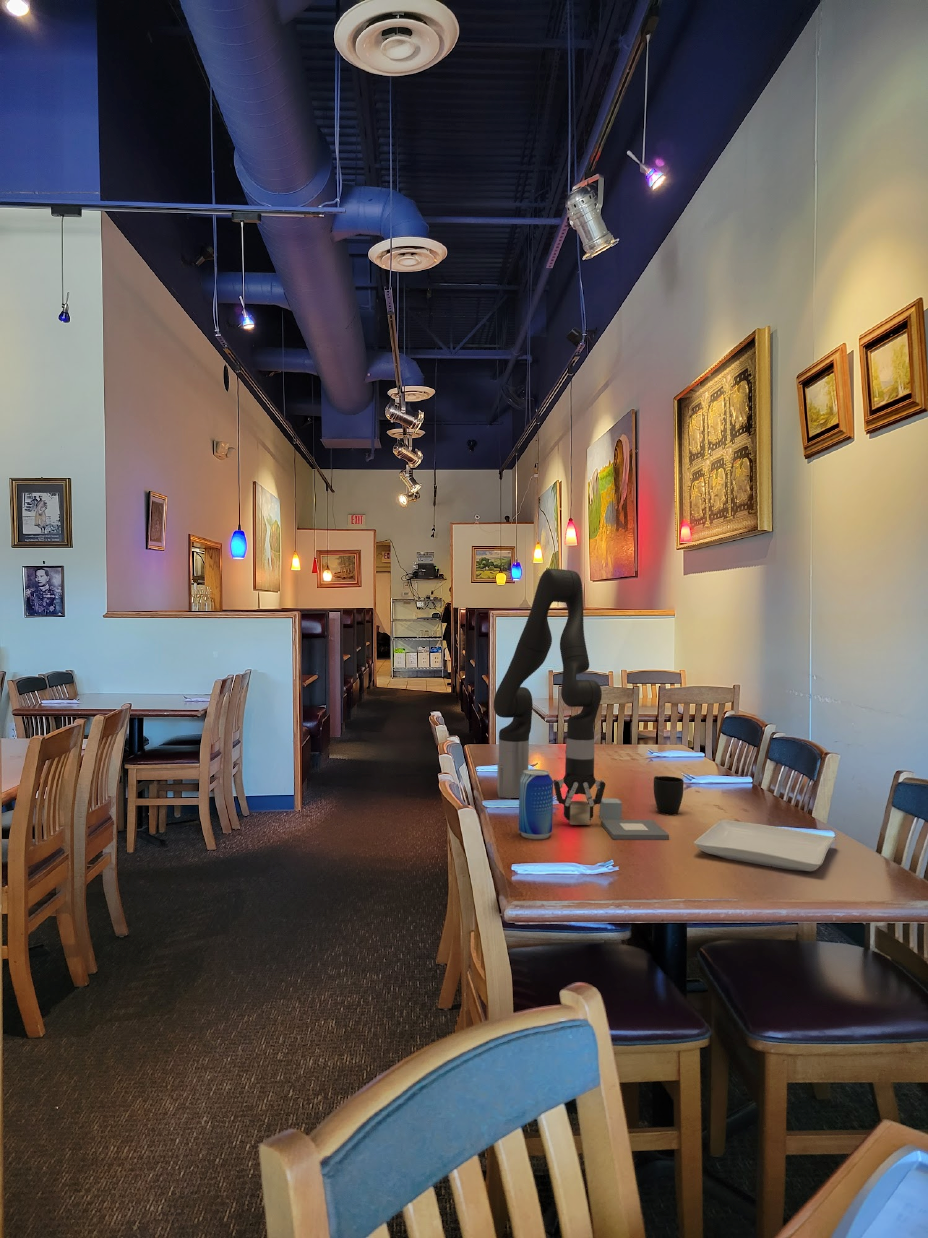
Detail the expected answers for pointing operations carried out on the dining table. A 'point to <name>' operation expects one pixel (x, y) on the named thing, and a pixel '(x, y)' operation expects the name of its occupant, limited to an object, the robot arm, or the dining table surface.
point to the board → (634, 829)
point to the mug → (668, 794)
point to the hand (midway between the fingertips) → (578, 819)
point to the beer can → (535, 804)
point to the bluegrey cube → (610, 809)
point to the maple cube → (579, 813)
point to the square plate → (765, 845)
